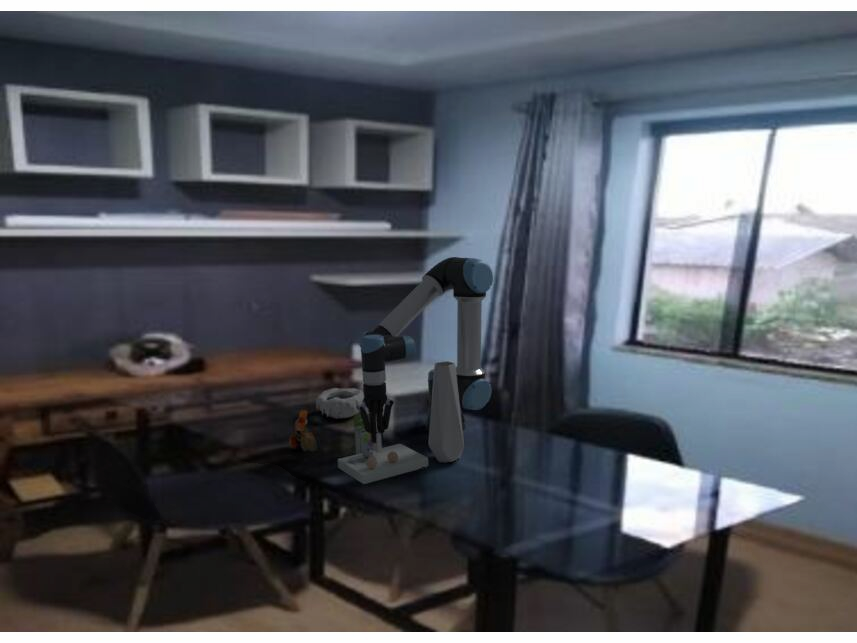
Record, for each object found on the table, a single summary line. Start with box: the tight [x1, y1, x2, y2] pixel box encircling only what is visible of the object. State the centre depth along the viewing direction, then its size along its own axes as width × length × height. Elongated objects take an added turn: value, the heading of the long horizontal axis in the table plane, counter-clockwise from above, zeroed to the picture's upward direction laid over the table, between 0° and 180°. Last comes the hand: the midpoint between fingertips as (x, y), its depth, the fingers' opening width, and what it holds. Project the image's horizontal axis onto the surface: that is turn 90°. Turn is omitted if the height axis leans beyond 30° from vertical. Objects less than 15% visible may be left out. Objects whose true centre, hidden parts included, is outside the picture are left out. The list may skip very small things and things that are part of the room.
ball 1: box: [366, 457, 377, 469], centre depth 248 cm, size 4×4×4 cm
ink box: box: [353, 413, 374, 455], centre depth 269 cm, size 7×4×13 cm, turn 131°
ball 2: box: [387, 451, 398, 462], centre depth 252 cm, size 4×4×4 cm
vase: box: [428, 360, 465, 463], centre depth 258 cm, size 12×12×33 cm
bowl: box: [315, 387, 367, 420], centre depth 314 cm, size 21×20×10 cm
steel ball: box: [363, 448, 373, 459], centre depth 256 cm, size 4×4×4 cm
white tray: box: [337, 443, 429, 485], centre depth 257 cm, size 24×18×3 cm
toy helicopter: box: [288, 409, 318, 452], centre depth 272 cm, size 8×21×14 cm, turn 25°
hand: (377, 451), depth 258 cm, fingers closed
